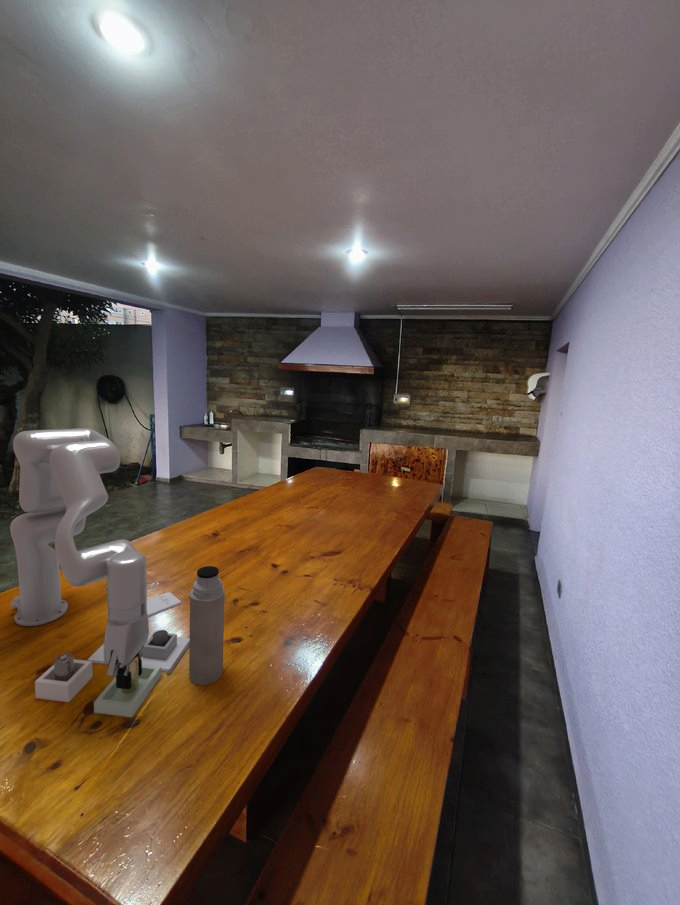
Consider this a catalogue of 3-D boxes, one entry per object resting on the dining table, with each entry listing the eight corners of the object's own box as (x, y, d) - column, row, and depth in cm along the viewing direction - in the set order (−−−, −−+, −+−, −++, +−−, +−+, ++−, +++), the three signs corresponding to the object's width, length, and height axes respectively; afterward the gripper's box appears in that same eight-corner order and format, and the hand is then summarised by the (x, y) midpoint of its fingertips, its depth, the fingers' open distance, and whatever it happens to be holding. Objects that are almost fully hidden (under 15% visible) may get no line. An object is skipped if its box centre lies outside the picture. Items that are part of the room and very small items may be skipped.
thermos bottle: (195, 660, 102) (196, 561, 97) (226, 662, 102) (228, 563, 97) (184, 684, 94) (185, 577, 89) (217, 685, 94) (220, 579, 89)
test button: (149, 651, 101) (149, 638, 100) (157, 642, 104) (157, 629, 103) (163, 653, 100) (163, 639, 100) (170, 644, 104) (170, 630, 103)
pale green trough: (94, 715, 84) (93, 702, 83) (127, 674, 96) (127, 662, 95) (132, 720, 83) (131, 707, 83) (161, 678, 95) (161, 666, 95)
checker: (87, 664, 98) (87, 648, 97) (117, 634, 109) (117, 620, 109) (169, 674, 97) (169, 658, 96) (190, 642, 108) (190, 628, 108)
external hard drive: (130, 610, 122) (168, 595, 131) (142, 622, 117) (181, 605, 126) (129, 605, 121) (168, 591, 131) (142, 617, 116) (181, 600, 126)
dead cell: (51, 691, 88) (49, 660, 86) (63, 679, 91) (62, 649, 90) (67, 693, 88) (65, 662, 86) (78, 681, 91) (77, 651, 90)
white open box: (36, 701, 86) (34, 681, 85) (62, 675, 94) (61, 657, 93) (69, 705, 86) (68, 685, 85) (92, 679, 93) (92, 661, 92)
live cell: (117, 692, 87) (116, 661, 86) (126, 680, 91) (126, 650, 90) (132, 694, 87) (132, 662, 86) (141, 682, 91) (141, 651, 89)
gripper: (133, 586, 94) (134, 654, 97) (84, 629, 78) (88, 708, 81) (163, 590, 93) (163, 657, 97) (121, 633, 77) (123, 713, 81)
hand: (129, 680), depth 89 cm, fingers closed on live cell, 3 cm apart
